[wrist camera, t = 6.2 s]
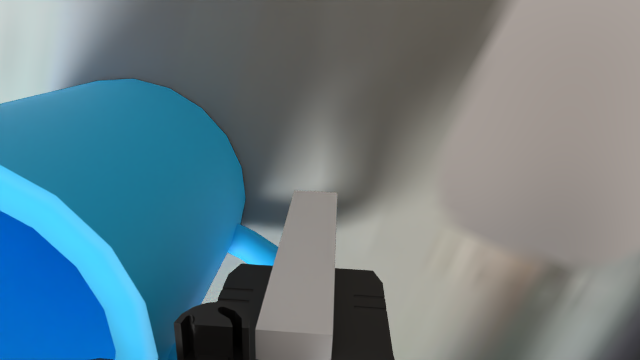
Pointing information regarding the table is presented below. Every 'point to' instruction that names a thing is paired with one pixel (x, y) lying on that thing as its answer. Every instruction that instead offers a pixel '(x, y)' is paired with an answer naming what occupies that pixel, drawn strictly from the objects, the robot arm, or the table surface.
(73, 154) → the mug
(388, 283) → the table surface
